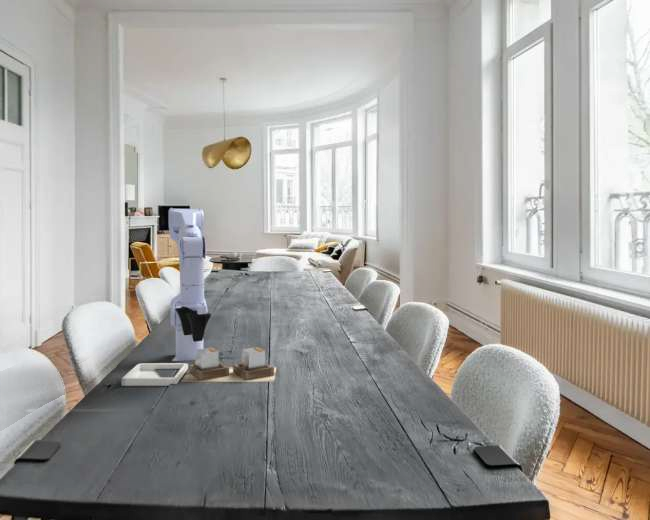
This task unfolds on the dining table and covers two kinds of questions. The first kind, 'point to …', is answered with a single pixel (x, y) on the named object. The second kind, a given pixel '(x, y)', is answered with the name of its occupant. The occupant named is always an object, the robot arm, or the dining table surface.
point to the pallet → (230, 374)
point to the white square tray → (152, 374)
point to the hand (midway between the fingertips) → (192, 337)
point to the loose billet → (206, 359)
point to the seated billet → (253, 359)
